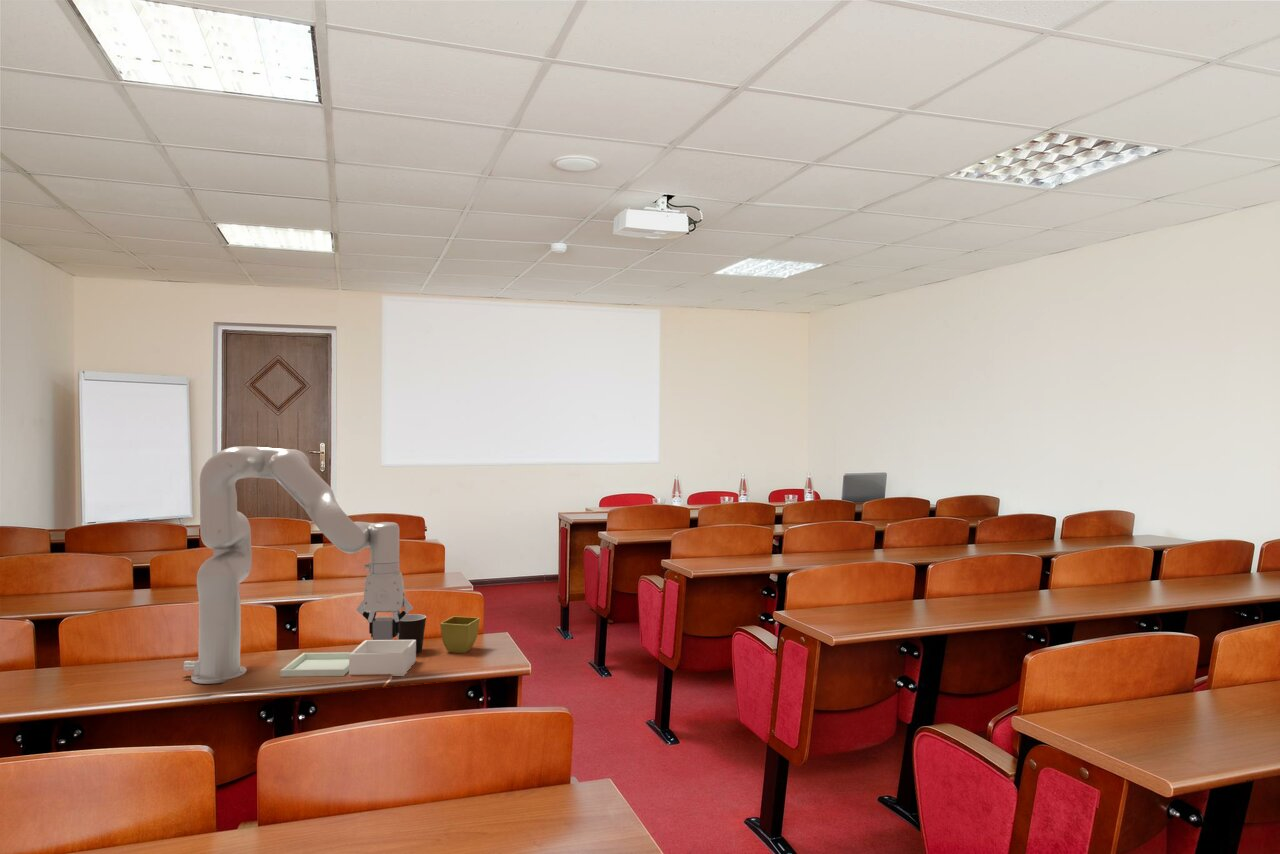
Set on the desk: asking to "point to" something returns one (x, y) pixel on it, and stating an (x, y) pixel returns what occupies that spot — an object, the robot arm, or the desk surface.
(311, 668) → the tray
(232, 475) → the robot arm
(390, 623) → the stone cube
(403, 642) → the bin
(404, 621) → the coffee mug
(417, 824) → the desk surface
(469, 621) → the flower pot
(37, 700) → the desk surface
